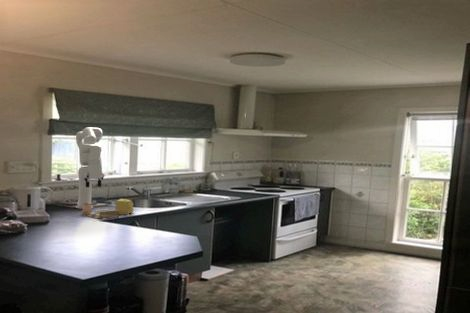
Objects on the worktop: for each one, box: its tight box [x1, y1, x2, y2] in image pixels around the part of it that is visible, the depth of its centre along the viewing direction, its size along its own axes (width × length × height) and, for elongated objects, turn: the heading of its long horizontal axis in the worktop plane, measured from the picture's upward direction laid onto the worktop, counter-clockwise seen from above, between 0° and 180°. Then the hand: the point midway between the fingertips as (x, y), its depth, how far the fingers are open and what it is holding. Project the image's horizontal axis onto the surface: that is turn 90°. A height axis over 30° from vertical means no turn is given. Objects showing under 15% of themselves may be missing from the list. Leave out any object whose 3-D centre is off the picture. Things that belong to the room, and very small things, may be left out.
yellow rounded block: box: [115, 198, 134, 215], centre depth 335 cm, size 10×11×10 cm
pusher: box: [95, 208, 111, 215], centre depth 318 cm, size 1×11×4 cm, turn 141°
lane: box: [87, 209, 120, 220], centre depth 318 cm, size 16×15×5 cm
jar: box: [82, 202, 93, 216], centre depth 321 cm, size 6×6×8 cm
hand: (93, 186), depth 321 cm, fingers open, 9 cm apart
